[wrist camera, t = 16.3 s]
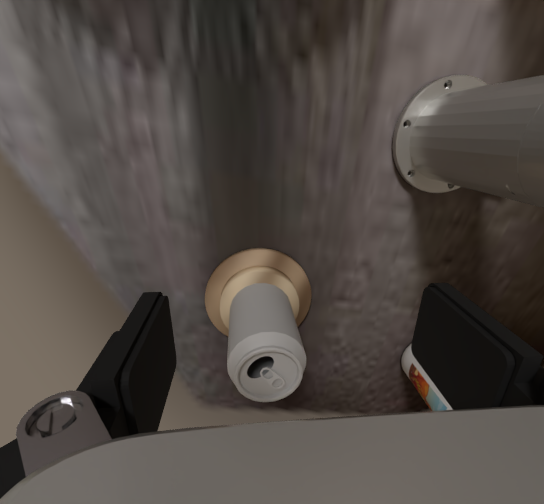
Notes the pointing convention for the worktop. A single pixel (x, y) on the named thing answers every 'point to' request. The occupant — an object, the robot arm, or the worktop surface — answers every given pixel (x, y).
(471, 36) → the worktop surface
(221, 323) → the plinth
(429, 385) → the milk bottle
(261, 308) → the can
